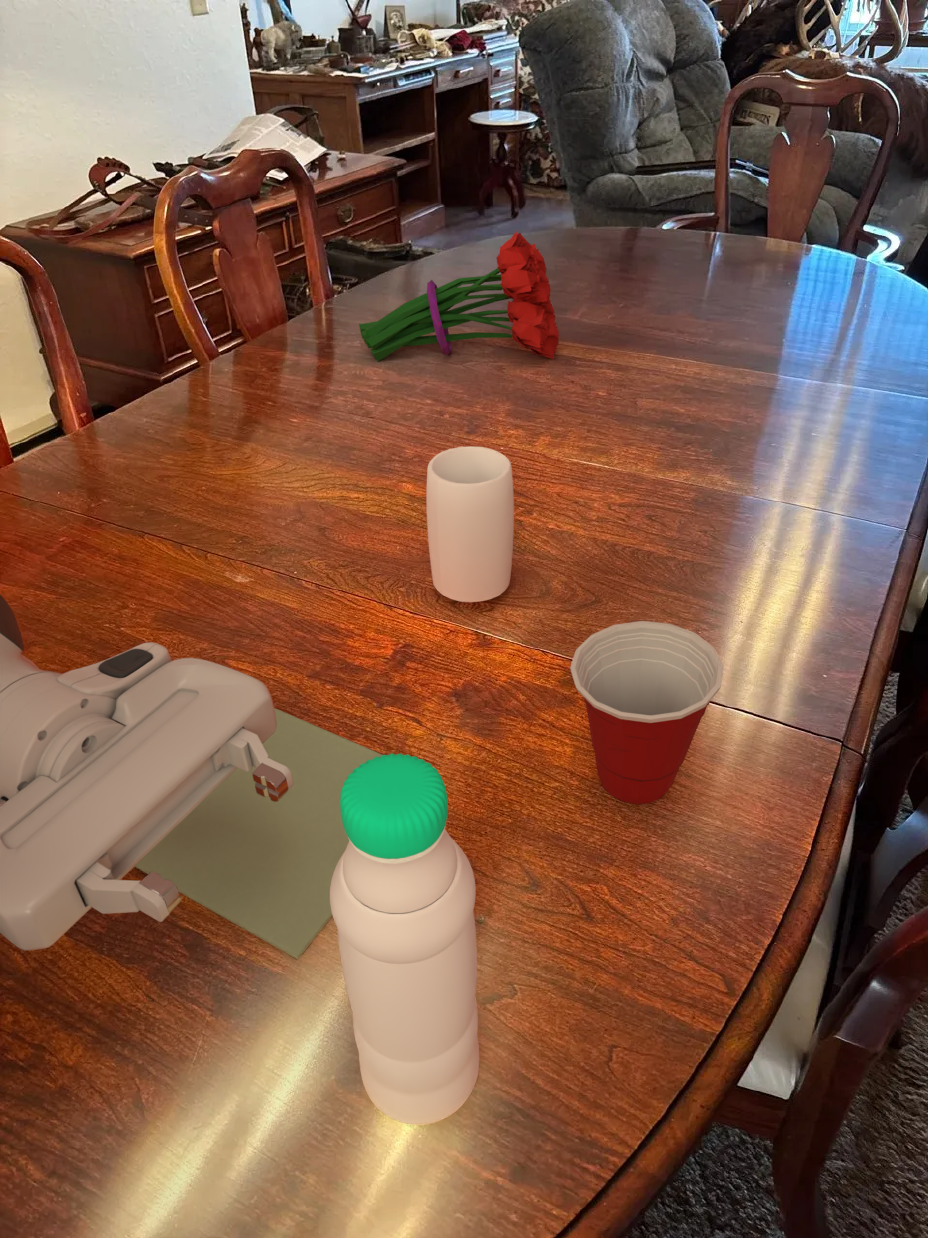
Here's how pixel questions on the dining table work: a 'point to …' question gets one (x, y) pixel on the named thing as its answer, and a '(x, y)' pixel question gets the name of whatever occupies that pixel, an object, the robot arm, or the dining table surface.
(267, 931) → the mat
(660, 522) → the dining table surface
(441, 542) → the cup
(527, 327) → the bouquet
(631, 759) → the plastic cup
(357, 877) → the water bottle
